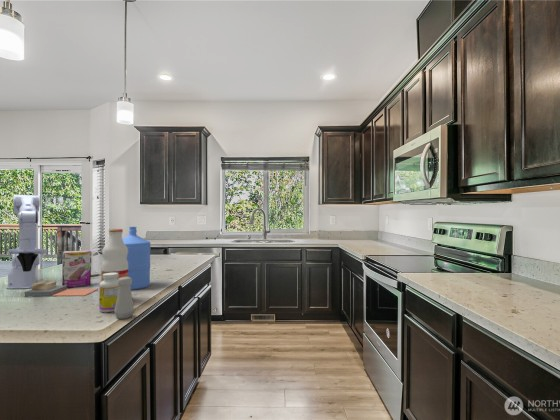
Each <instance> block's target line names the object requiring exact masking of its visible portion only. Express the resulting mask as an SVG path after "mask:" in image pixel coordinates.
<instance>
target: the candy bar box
mask: <svg viewBox="0 0 560 420" xmlns="http://www.w3.org/2000/svg"><path fill="white" fill-rule="evenodd" d="M92 254H93V253H92V251H91V250H69V251H62V268H61V286H62V285H67V289H74V288H81V287H89V286H91V282H92V281H91V280H92V279H91V277H92Z"/></svg>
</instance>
